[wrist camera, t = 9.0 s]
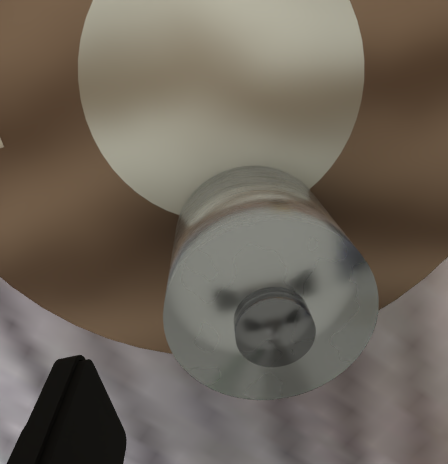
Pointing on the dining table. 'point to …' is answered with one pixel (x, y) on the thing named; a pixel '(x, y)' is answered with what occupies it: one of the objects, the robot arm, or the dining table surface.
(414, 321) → the dining table surface
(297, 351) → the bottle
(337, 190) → the turntable
